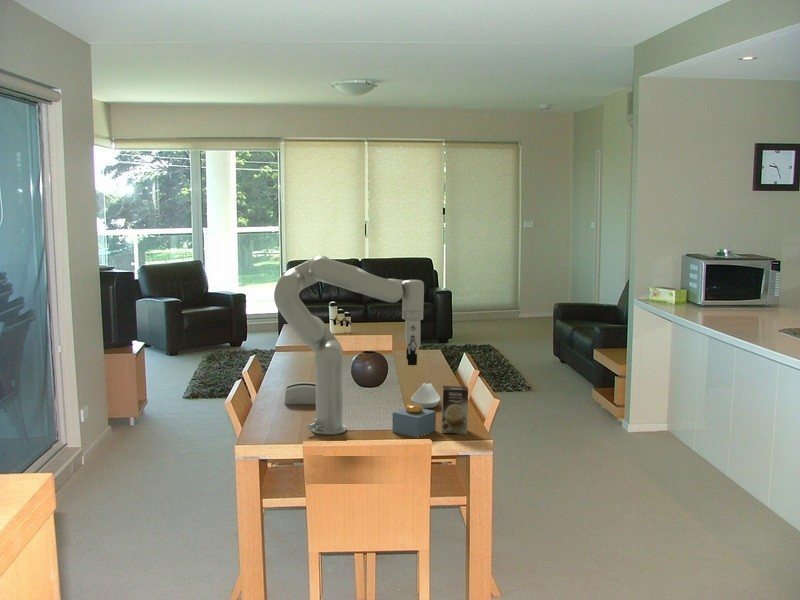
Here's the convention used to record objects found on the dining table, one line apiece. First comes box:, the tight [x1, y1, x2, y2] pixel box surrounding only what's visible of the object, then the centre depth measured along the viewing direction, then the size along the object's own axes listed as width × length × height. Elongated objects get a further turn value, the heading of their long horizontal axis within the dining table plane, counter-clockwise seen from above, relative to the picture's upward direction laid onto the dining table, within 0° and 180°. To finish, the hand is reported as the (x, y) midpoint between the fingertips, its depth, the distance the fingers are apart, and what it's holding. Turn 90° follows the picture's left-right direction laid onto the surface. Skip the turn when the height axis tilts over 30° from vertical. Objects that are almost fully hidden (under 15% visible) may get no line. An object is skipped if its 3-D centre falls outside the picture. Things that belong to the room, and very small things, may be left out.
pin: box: [405, 403, 423, 414], centre depth 276 cm, size 6×6×9 cm
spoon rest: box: [410, 382, 441, 410], centre depth 316 cm, size 24×12×7 cm, turn 176°
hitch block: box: [391, 407, 437, 438], centre depth 276 cm, size 11×11×7 cm
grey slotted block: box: [284, 381, 316, 405], centre depth 314 cm, size 17×5×10 cm, turn 93°
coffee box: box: [440, 385, 469, 435], centre depth 276 cm, size 9×6×16 cm
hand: (411, 362), depth 276 cm, fingers open, 9 cm apart
